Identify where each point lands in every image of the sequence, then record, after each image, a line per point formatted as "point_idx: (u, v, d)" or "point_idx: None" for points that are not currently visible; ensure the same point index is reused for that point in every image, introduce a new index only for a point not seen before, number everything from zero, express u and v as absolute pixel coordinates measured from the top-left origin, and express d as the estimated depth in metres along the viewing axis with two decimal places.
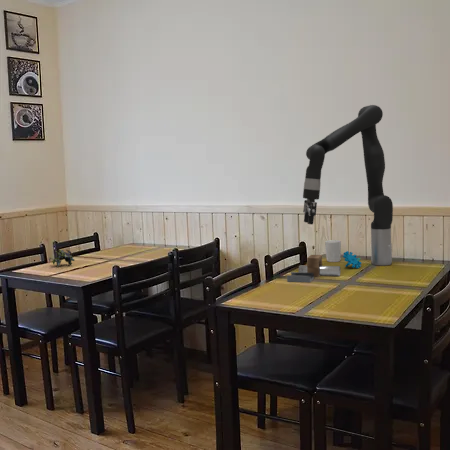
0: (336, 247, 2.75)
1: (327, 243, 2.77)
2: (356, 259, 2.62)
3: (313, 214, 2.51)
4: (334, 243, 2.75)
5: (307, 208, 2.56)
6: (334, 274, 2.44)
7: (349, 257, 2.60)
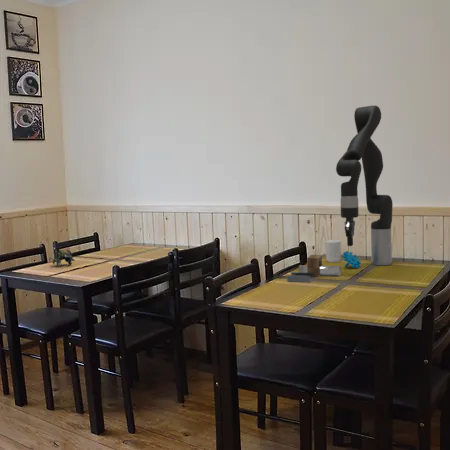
0: (336, 247, 2.75)
1: (327, 243, 2.77)
2: (356, 259, 2.62)
3: (349, 236, 2.38)
4: (334, 243, 2.75)
5: None
6: (334, 274, 2.44)
7: (349, 257, 2.61)
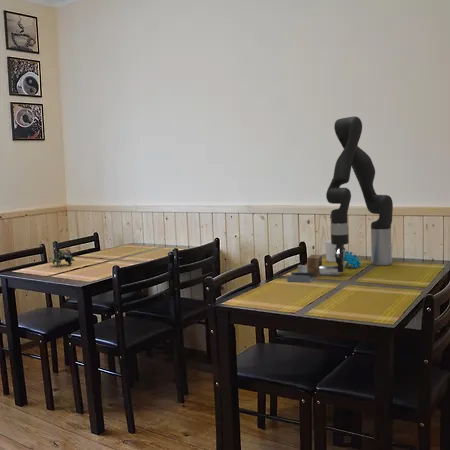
0: None
1: (327, 243, 2.77)
2: (356, 259, 2.62)
3: (339, 262, 2.41)
4: None
5: None
6: (333, 273, 2.44)
7: (348, 257, 2.61)
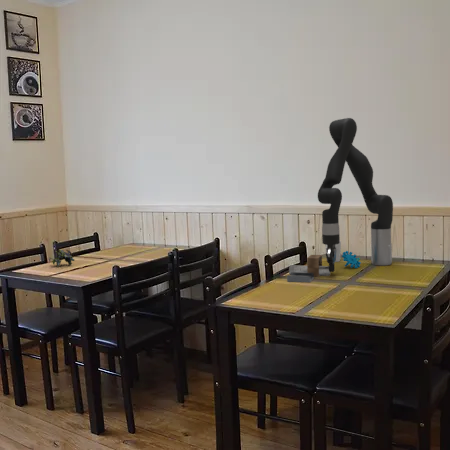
0: (336, 247, 2.75)
1: None
2: (355, 259, 2.62)
3: (330, 262, 2.43)
4: None
5: None
6: (324, 274, 2.46)
7: (348, 257, 2.61)
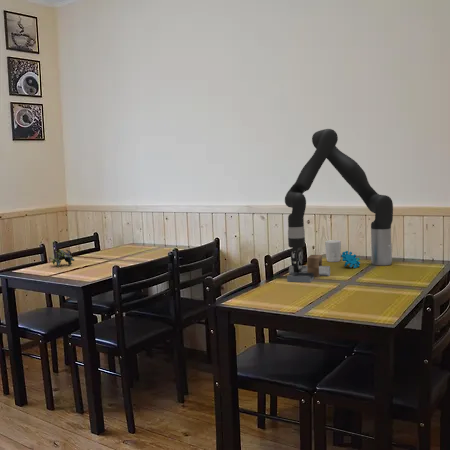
0: (336, 247, 2.75)
1: (327, 243, 2.77)
2: (355, 259, 2.63)
3: (294, 265, 2.47)
4: (334, 243, 2.75)
5: None
6: (324, 274, 2.46)
7: (347, 257, 2.61)
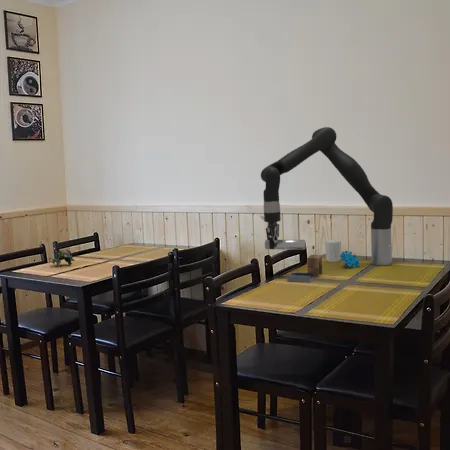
0: (336, 247, 2.75)
1: (327, 243, 2.77)
2: (355, 259, 2.63)
3: (270, 239, 2.49)
4: (334, 243, 2.75)
5: None
6: (299, 247, 2.48)
7: (347, 256, 2.62)
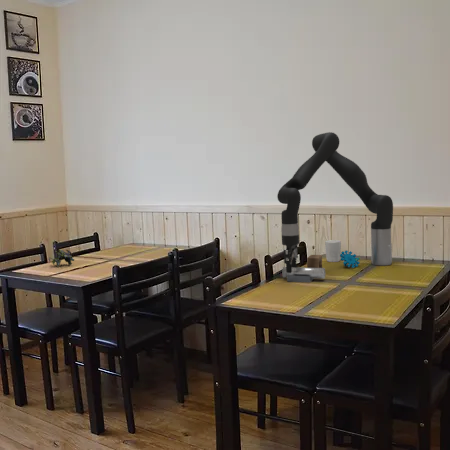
0: (336, 247, 2.75)
1: (327, 243, 2.77)
2: (354, 259, 2.63)
3: (287, 263, 2.35)
4: (334, 243, 2.75)
5: None
6: (319, 276, 2.36)
7: (346, 256, 2.62)
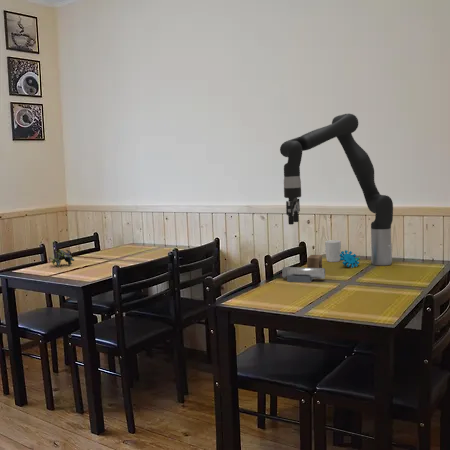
0: (336, 247, 2.75)
1: (327, 243, 2.77)
2: (354, 258, 2.64)
3: (289, 214, 2.39)
4: (334, 243, 2.75)
5: None
6: (319, 277, 2.36)
7: (346, 256, 2.63)
